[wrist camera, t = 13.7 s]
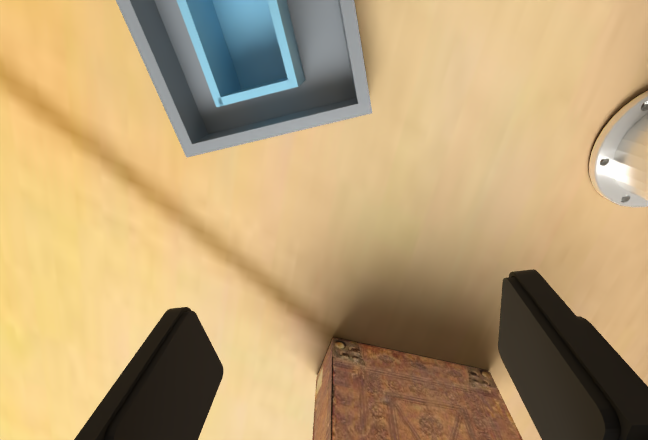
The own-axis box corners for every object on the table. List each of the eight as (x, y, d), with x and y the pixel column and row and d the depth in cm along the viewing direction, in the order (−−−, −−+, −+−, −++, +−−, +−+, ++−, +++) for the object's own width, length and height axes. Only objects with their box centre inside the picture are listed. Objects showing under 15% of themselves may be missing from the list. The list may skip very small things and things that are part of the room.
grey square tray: (327, -134, 23) (325, -180, 18) (367, 104, 30) (372, 113, 26) (122, -62, 25) (77, -87, 21) (206, 143, 33) (186, 157, 28)
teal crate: (272, -57, 24) (253, -92, 19) (305, 80, 29) (298, 86, 23) (196, -32, 25) (154, -58, 19) (239, 97, 30) (216, 107, 24)
